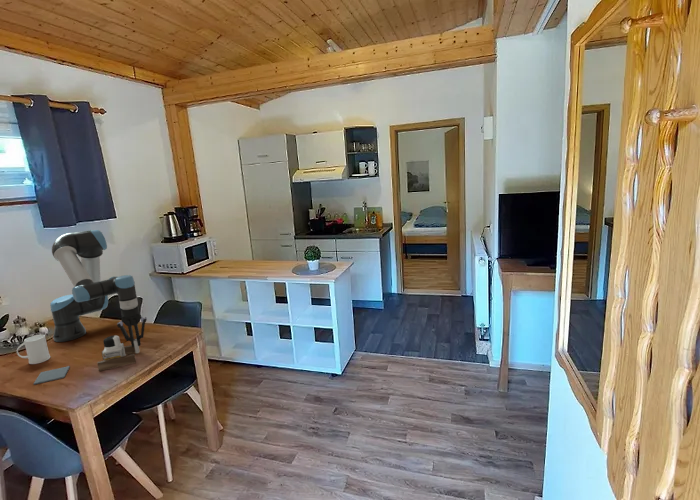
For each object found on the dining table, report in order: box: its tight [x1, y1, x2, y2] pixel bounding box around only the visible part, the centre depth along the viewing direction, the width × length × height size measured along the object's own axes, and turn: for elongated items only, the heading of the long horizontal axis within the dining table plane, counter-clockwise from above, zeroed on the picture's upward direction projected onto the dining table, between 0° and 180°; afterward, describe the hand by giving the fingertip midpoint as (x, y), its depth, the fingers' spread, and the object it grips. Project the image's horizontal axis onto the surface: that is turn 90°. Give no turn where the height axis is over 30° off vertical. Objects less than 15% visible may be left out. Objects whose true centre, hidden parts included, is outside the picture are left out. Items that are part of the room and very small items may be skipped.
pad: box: [33, 365, 71, 386], centre depth 170 cm, size 11×11×1 cm
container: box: [101, 335, 127, 361], centre depth 179 cm, size 8×8×13 cm
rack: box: [96, 344, 137, 372], centre depth 181 cm, size 14×15×4 cm
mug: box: [16, 334, 51, 365], centre depth 185 cm, size 12×8×12 cm
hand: (137, 352), depth 185 cm, fingers closed
